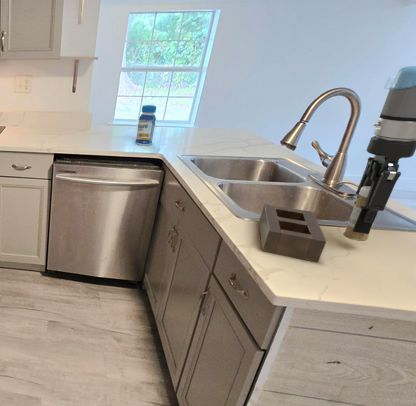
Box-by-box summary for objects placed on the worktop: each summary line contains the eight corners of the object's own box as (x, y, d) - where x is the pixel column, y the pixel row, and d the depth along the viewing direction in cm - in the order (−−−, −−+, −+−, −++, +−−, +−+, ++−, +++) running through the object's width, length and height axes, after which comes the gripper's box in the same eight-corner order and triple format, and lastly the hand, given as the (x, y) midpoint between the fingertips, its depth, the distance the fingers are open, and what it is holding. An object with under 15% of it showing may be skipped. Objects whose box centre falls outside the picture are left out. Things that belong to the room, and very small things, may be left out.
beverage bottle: (155, 144, 195) (162, 106, 187) (142, 146, 193) (148, 107, 185) (144, 141, 202) (150, 104, 194) (131, 142, 200) (137, 105, 192)
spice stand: (306, 230, 104) (313, 211, 102) (317, 262, 89) (326, 241, 87) (258, 222, 110) (264, 204, 107) (262, 251, 95) (269, 230, 92)
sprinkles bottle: (369, 243, 91) (391, 193, 85) (344, 239, 93) (364, 190, 88) (364, 235, 94) (385, 187, 89) (340, 231, 96) (359, 184, 91)
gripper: (362, 129, 92) (331, 212, 101) (383, 144, 79) (345, 239, 88) (405, 131, 88) (368, 218, 97) (435, 148, 75) (389, 246, 84)
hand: (357, 228), depth 93 cm, fingers closed on sprinkles bottle, 4 cm apart
